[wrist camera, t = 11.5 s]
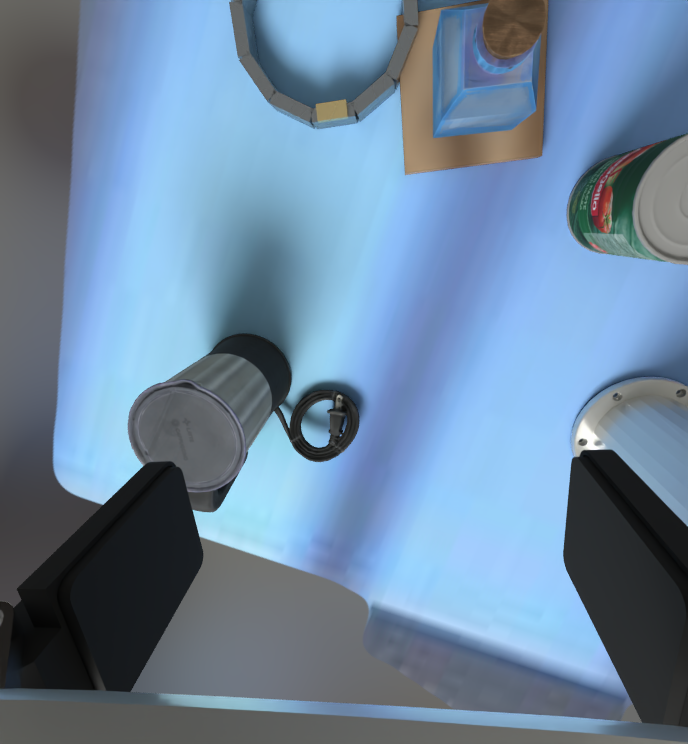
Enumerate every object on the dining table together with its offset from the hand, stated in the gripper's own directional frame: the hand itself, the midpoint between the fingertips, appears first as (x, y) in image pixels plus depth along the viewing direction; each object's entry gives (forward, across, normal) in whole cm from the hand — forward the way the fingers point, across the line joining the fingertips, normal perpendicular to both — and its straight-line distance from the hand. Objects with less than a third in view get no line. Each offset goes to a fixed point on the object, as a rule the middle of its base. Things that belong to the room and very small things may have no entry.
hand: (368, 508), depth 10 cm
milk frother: (+32, +12, +10) cm, 36 cm away
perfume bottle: (+31, -8, -16) cm, 36 cm away
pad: (+32, -8, -16) cm, 37 cm away
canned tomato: (+32, -20, -6) cm, 38 cm away
